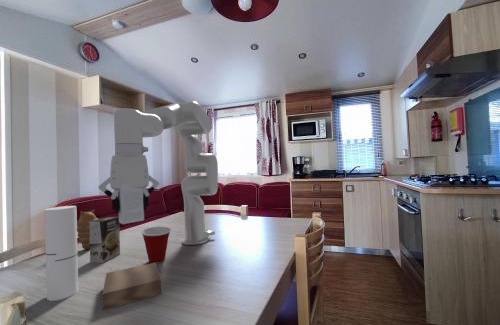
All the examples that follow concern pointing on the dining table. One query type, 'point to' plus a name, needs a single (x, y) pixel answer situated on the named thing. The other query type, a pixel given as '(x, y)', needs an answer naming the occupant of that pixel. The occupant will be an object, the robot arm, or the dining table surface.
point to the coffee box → (104, 239)
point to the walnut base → (131, 285)
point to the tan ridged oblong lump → (85, 228)
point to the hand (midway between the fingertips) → (131, 210)
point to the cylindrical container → (61, 252)
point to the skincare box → (130, 204)
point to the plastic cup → (156, 243)
